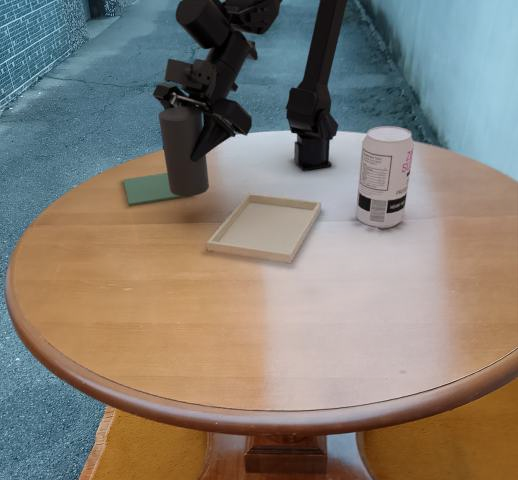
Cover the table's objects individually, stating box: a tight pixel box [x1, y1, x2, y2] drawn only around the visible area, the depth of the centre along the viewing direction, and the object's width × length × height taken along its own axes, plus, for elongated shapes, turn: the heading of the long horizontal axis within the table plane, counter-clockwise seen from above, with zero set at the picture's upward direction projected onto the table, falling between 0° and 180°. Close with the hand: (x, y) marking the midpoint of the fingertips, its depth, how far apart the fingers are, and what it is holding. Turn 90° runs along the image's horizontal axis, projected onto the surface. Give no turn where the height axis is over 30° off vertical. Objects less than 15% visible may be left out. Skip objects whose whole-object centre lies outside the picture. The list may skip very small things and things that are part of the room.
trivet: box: [122, 172, 192, 207], centre depth 108 cm, size 12×12×1 cm
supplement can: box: [355, 125, 415, 230], centre depth 90 cm, size 8×8×15 cm
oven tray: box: [206, 192, 322, 264], centre depth 93 cm, size 19×14×2 cm
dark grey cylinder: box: [158, 107, 210, 197], centre depth 89 cm, size 7×7×13 cm
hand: (178, 155), depth 88 cm, fingers closed on dark grey cylinder, 7 cm apart
